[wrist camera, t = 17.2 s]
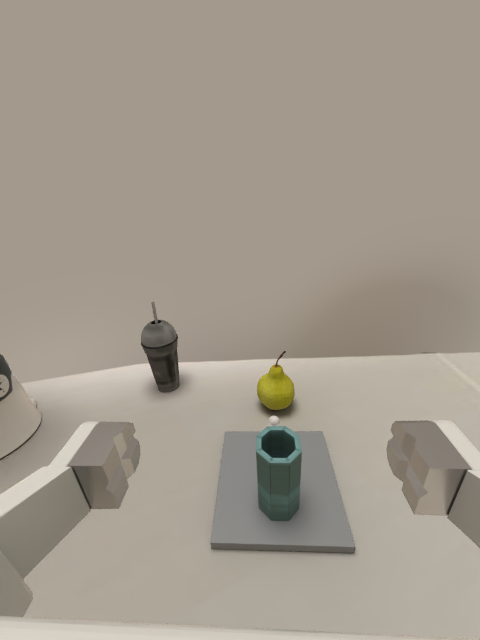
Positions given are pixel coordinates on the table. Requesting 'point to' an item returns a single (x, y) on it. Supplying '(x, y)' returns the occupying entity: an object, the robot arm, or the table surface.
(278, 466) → the sleeve
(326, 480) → the pin board
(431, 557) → the table surface
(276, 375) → the fruit
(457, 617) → the table surface
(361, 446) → the table surface
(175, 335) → the beverage cup
